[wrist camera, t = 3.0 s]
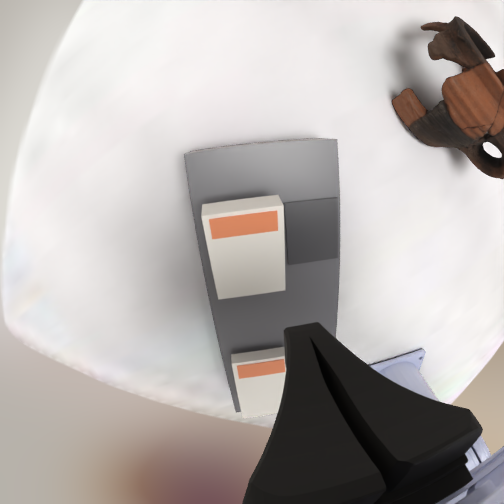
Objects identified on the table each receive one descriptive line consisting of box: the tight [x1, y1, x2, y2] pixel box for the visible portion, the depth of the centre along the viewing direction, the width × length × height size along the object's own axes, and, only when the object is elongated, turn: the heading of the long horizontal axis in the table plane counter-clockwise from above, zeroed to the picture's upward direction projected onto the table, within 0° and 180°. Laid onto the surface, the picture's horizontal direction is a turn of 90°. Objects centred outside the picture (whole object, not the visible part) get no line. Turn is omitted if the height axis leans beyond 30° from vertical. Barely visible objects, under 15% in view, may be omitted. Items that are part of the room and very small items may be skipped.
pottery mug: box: [392, 17, 504, 179], centre depth 14 cm, size 12×10×8 cm
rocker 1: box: [201, 195, 285, 300], centre depth 14 cm, size 5×4×2 cm
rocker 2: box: [231, 347, 286, 419], centre depth 18 cm, size 5×4×2 cm
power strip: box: [184, 138, 340, 412], centre depth 19 cm, size 20×8×3 cm, turn 6°
